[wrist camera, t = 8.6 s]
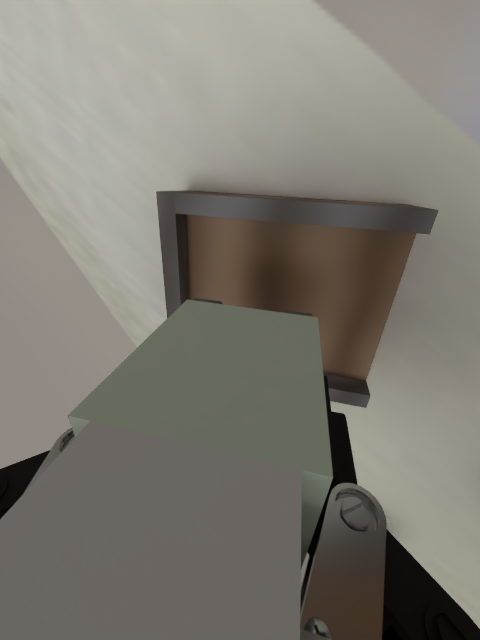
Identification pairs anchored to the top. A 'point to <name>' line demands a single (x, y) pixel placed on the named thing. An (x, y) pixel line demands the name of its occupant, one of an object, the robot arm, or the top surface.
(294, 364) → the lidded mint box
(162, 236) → the brown wooden tray
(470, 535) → the top surface
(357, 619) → the robot arm
